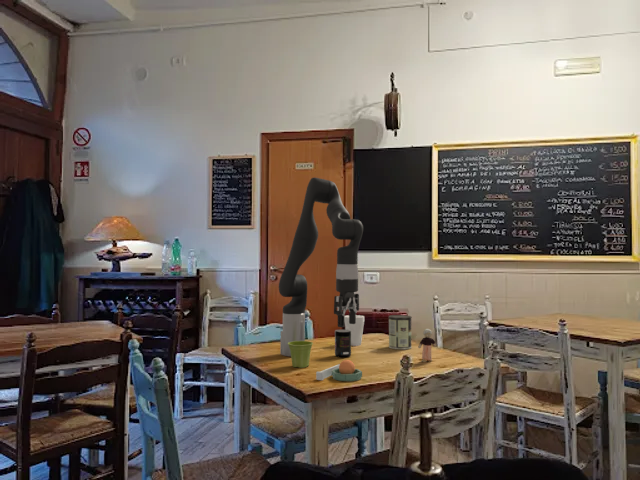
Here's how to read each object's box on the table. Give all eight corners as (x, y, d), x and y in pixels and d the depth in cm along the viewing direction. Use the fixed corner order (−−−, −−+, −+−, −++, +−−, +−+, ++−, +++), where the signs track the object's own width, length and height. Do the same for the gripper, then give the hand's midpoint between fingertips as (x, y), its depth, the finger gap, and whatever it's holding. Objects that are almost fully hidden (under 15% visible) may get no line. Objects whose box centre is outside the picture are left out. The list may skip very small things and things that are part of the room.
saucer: (327, 378, 169) (327, 372, 169) (340, 373, 178) (340, 366, 178) (353, 382, 165) (353, 375, 165) (365, 376, 173) (365, 370, 173)
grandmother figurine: (423, 362, 196) (423, 329, 196) (417, 361, 199) (416, 328, 200) (438, 361, 199) (438, 328, 200) (432, 359, 203) (432, 327, 203)
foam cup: (351, 342, 242) (351, 314, 242) (368, 344, 236) (368, 316, 237) (340, 344, 234) (340, 316, 234) (357, 347, 229) (357, 318, 229)
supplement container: (345, 354, 212) (346, 329, 213) (354, 357, 206) (354, 331, 207) (331, 355, 209) (331, 330, 210) (339, 358, 203) (339, 332, 204)
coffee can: (400, 344, 235) (400, 314, 236) (416, 348, 227) (416, 316, 227) (383, 346, 230) (383, 315, 230) (399, 350, 221) (399, 318, 222)
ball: (336, 376, 170) (336, 360, 170) (343, 373, 175) (343, 357, 175) (350, 378, 168) (350, 362, 168) (357, 375, 172) (357, 359, 172)
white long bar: (316, 379, 169) (316, 371, 169) (342, 368, 185) (342, 361, 185) (322, 380, 167) (322, 372, 167) (348, 369, 184) (348, 362, 184)
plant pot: (292, 370, 182) (293, 345, 183) (284, 364, 191) (284, 341, 191) (316, 367, 186) (316, 344, 186) (307, 362, 195) (307, 340, 195)
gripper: (346, 276, 180) (346, 322, 180) (327, 278, 168) (326, 327, 167) (366, 277, 176) (365, 323, 176) (347, 278, 164) (347, 329, 164)
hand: (346, 325), depth 172 cm, fingers open, 8 cm apart
